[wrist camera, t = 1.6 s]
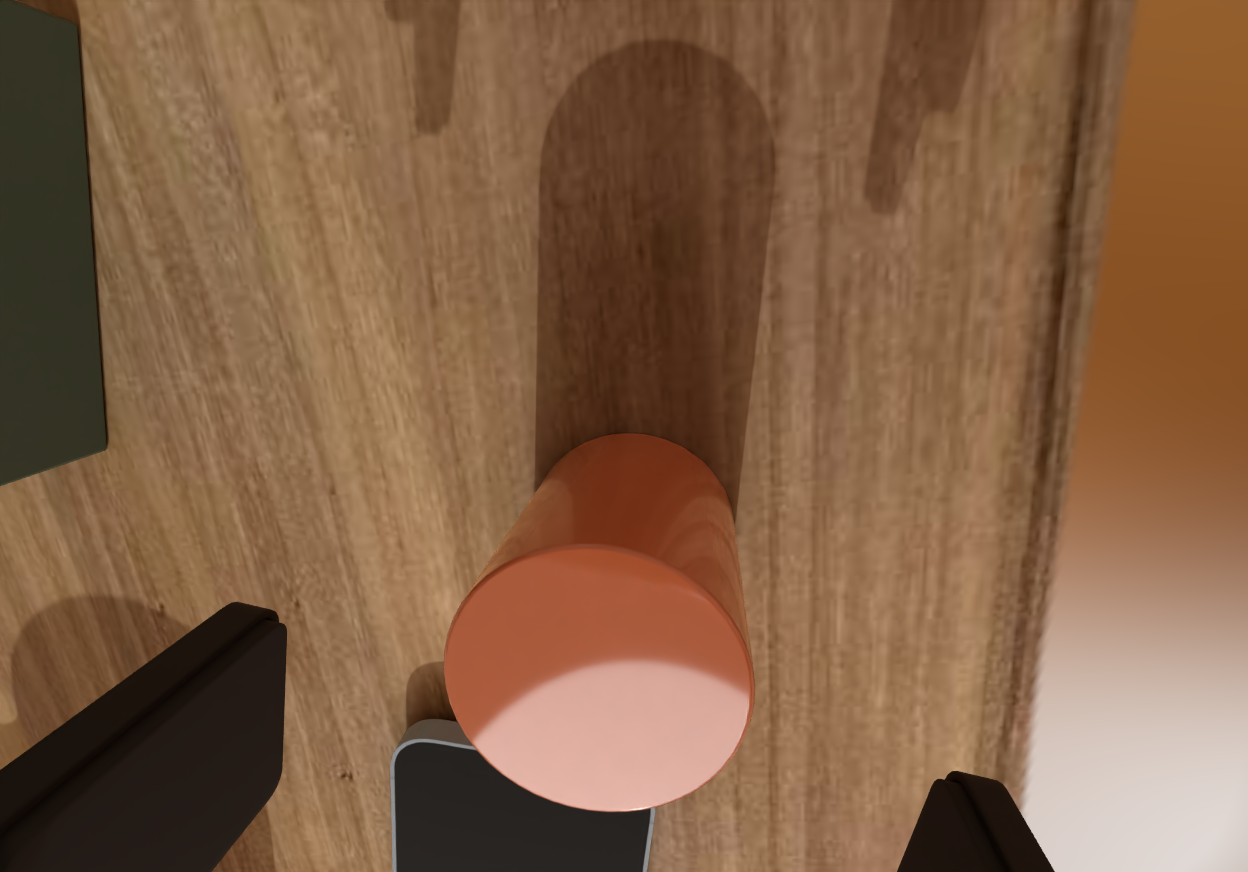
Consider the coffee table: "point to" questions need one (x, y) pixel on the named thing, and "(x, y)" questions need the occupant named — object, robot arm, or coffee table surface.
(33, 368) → the shelf
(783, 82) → the coffee table surface
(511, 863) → the smartphone
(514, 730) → the canister
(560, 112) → the coffee table surface
